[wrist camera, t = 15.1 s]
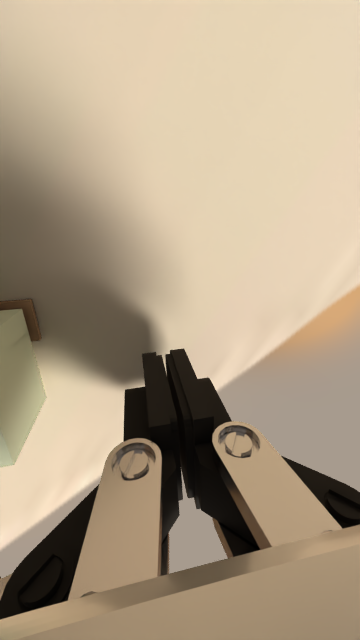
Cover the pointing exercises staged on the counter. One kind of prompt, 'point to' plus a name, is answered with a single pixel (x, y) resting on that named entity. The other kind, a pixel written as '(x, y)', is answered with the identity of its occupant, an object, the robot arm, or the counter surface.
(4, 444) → the pale green l-shaped block
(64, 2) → the counter surface
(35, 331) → the box
